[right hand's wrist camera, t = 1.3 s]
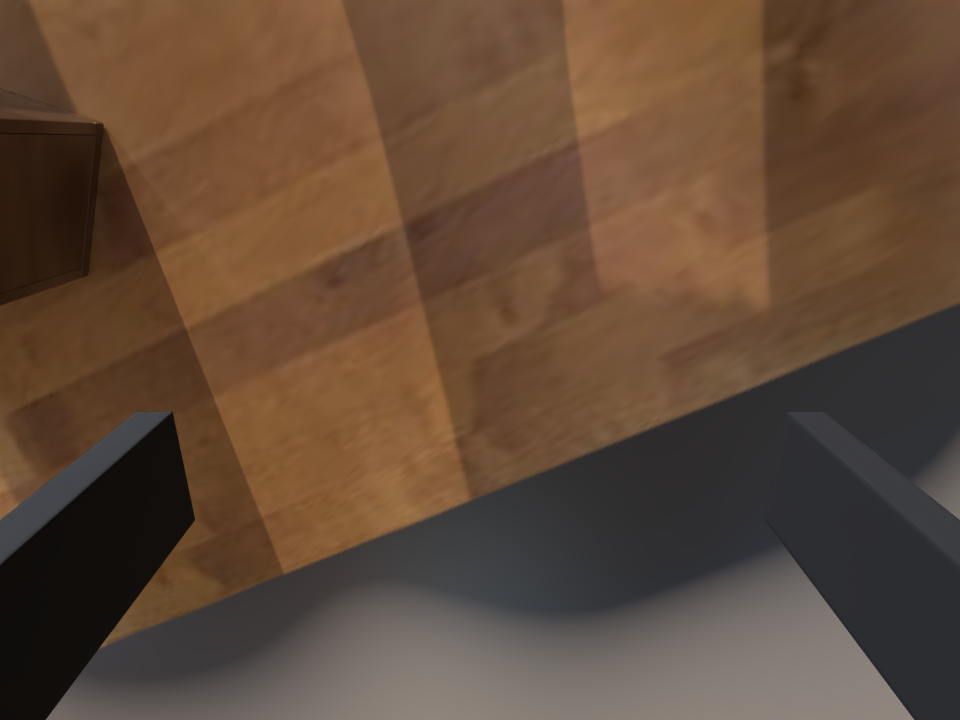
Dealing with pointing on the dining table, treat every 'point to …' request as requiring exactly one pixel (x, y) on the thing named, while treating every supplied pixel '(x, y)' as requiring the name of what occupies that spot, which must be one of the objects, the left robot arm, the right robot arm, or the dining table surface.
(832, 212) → the dining table surface
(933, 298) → the dining table surface
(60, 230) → the chest
